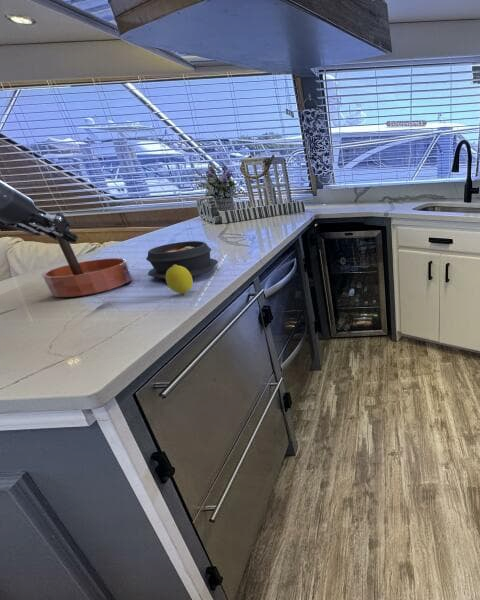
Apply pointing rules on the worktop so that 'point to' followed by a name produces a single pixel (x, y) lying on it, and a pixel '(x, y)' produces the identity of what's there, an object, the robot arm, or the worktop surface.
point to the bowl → (88, 278)
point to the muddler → (69, 255)
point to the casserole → (181, 258)
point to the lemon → (179, 279)
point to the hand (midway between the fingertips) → (70, 240)
